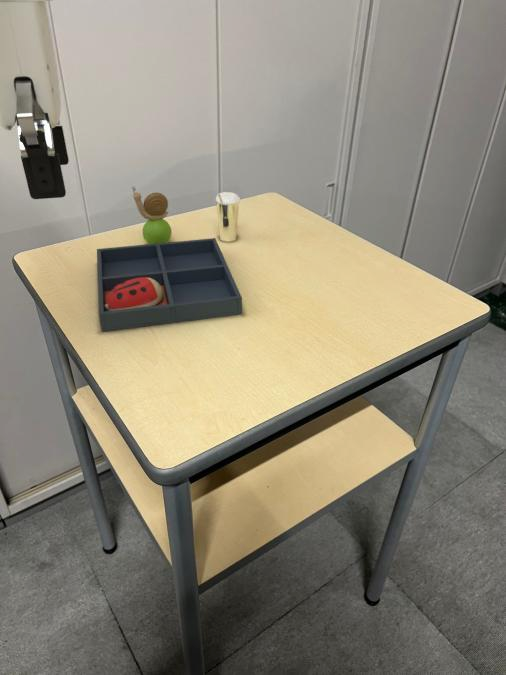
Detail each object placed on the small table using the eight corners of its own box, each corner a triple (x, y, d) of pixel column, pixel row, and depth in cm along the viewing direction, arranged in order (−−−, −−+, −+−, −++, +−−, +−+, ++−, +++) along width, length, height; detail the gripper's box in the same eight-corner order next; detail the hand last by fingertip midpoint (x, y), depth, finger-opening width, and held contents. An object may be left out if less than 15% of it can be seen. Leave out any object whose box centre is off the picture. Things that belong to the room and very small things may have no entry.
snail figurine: (135, 242, 100) (128, 182, 93) (167, 237, 103) (162, 177, 95) (143, 254, 96) (135, 192, 89) (176, 248, 99) (171, 187, 92)
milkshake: (210, 241, 101) (208, 192, 95) (224, 231, 105) (223, 183, 99) (230, 246, 100) (229, 196, 94) (243, 236, 104) (244, 187, 98)
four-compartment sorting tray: (102, 332, 77) (98, 314, 75) (99, 264, 93) (96, 248, 91) (241, 314, 81) (241, 297, 79) (215, 252, 98) (215, 237, 96)
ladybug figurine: (173, 301, 82) (171, 282, 80) (119, 325, 77) (115, 305, 75) (149, 285, 86) (146, 266, 84) (95, 306, 80) (92, 287, 78)
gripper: (-23, -26, 49) (21, 156, 59) (-64, -18, 36) (2, 216, 46) (59, -25, 51) (89, 152, 61) (50, -16, 37) (89, 209, 48)
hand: (51, 179), depth 53 cm, fingers open, 9 cm apart
